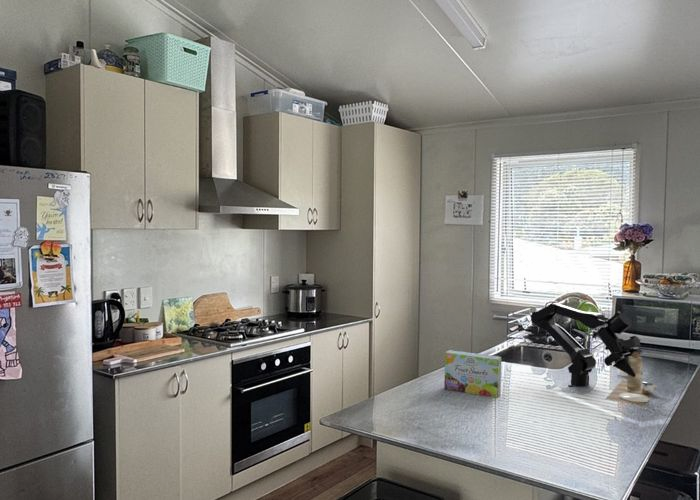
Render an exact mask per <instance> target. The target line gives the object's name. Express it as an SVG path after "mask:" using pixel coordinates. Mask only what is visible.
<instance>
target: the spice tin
mask: <svg viewBox="0 0 700 500" xmlns="http://www.w3.org/2000/svg"><path fill="white" fill-rule="evenodd" d="M641 383H642V391H641V393H642V394H646V395H651V396H652V395H654V391H653V385H654V386H655V383H654V382H653V381H650V380H641Z"/></svg>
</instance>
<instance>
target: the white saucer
mask: <svg viewBox="0 0 700 500" xmlns="http://www.w3.org/2000/svg"><path fill="white" fill-rule="evenodd" d="M619 397H620V398H621V399H623V400H626V401H631V402H639V403H644V402H646V403H649V399H650V397H649V398H647V397H646V396H643V395H639V394H633V393H622V394H619Z"/></svg>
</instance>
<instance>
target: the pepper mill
mask: <svg viewBox="0 0 700 500" xmlns="http://www.w3.org/2000/svg"><path fill="white" fill-rule="evenodd" d="M628 363H629V365H630V366H631V368H632V370H633V371H634V373H635V375H636V376H635V377H632V376H630V375H629V374H628V377H627V380H626V381H627V388H626V391H627V392H630V393H637V394H638V393H641V383H642V375H641V373H642V374H643V372H642V371H643V357H642V356H640V355H639V353H638V352H636V351H635V352H633V353H632V356H629V360H628Z"/></svg>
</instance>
